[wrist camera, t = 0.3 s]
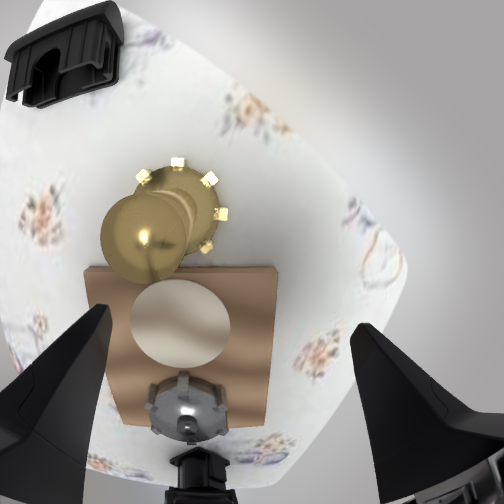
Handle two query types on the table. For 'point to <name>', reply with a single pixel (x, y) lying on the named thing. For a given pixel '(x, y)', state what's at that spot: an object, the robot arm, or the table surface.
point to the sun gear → (187, 408)
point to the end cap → (67, 56)
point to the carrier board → (190, 335)
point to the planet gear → (161, 223)
